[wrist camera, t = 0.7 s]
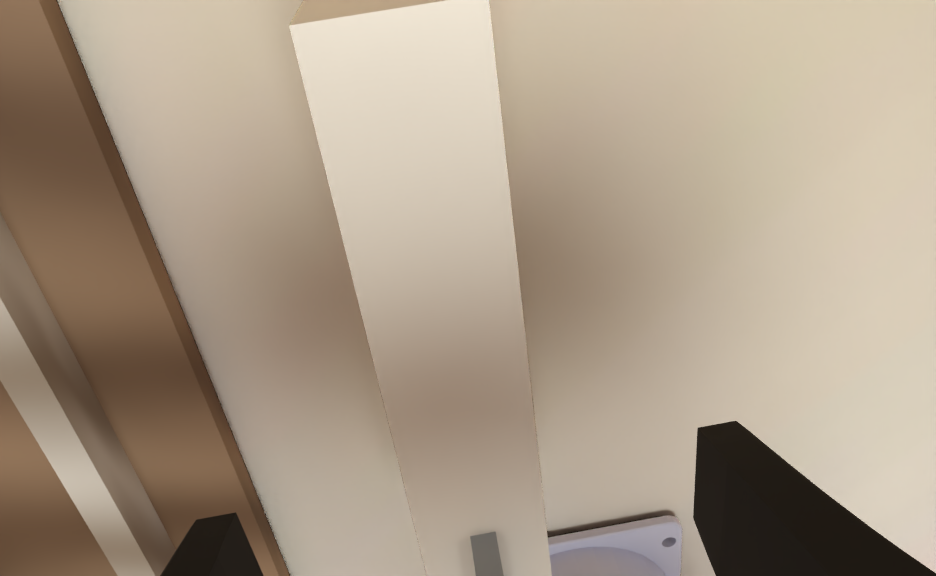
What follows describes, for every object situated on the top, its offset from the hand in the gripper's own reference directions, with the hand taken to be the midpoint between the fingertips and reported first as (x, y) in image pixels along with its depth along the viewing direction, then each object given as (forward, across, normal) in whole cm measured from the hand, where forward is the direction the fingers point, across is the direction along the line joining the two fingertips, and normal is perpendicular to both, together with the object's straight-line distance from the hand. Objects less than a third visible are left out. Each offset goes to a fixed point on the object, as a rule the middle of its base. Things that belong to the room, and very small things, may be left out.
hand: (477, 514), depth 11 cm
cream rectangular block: (+10, 0, 0) cm, 10 cm away
